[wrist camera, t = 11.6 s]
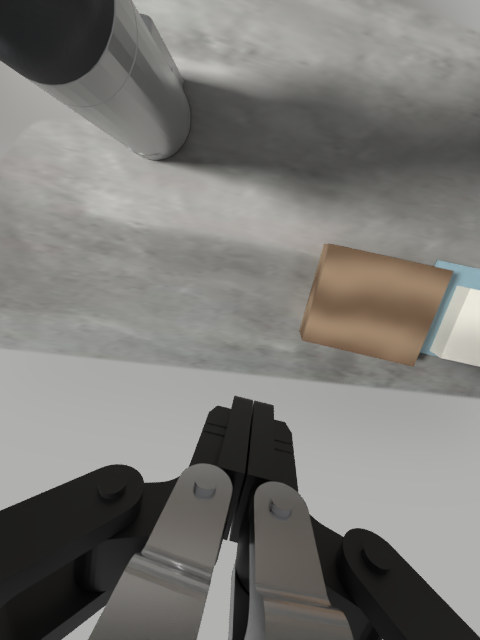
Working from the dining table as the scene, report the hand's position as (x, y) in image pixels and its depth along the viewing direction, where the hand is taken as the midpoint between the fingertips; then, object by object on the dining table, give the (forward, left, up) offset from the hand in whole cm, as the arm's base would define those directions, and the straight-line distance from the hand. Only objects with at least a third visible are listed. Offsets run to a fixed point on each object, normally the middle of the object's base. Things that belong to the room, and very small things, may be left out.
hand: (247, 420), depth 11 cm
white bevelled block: (-2, +26, -26) cm, 37 cm away
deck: (-2, +13, -29) cm, 32 cm away
